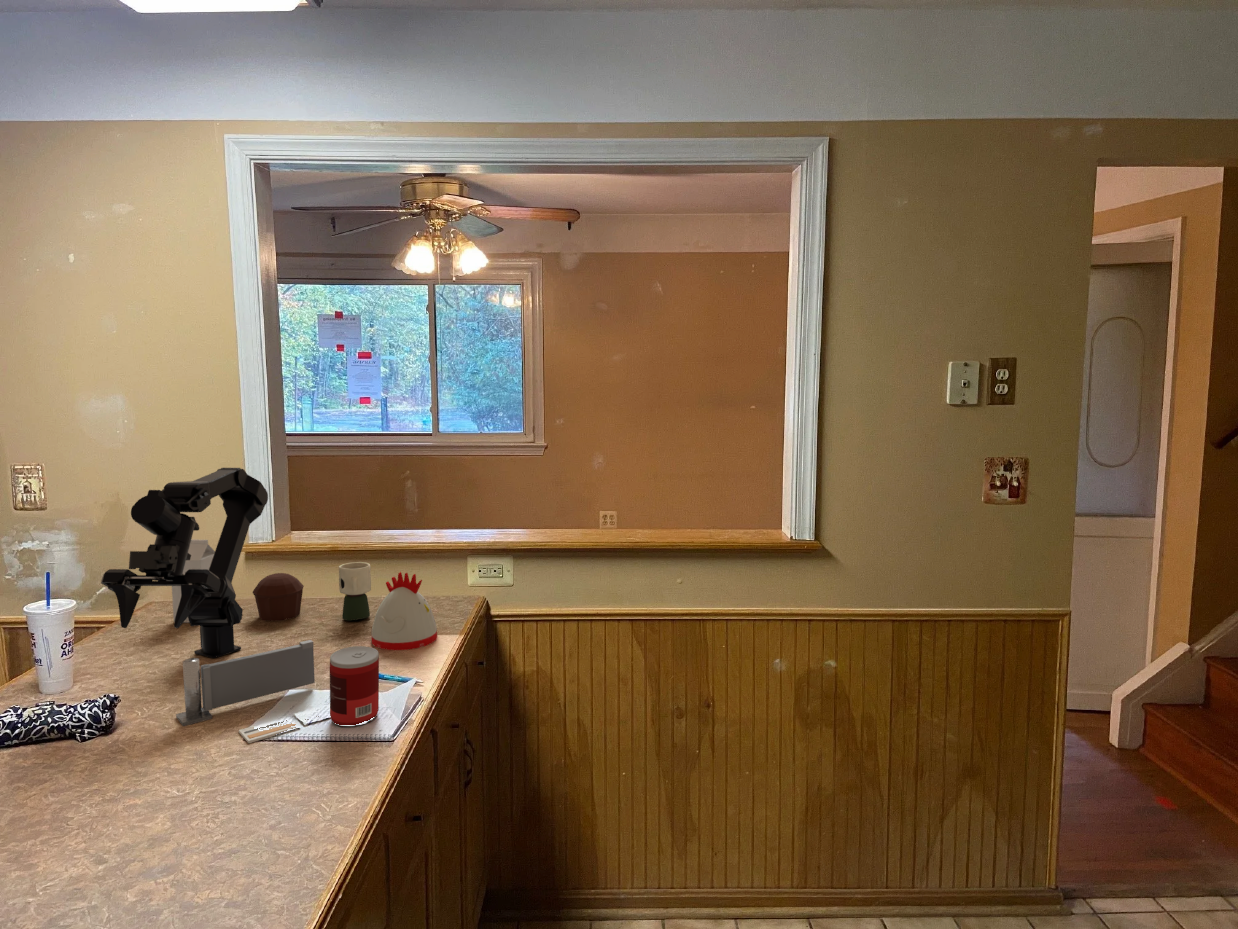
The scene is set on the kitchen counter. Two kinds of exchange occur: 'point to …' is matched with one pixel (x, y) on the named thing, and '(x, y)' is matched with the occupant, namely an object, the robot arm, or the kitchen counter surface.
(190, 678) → the hinge post
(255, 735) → the label plate beige
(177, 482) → the robot arm
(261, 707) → the kitchen counter surface
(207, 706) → the hinge panel
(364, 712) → the canned food
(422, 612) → the kitchen timer
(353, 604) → the character mug
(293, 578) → the muffin
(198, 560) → the milk carton
